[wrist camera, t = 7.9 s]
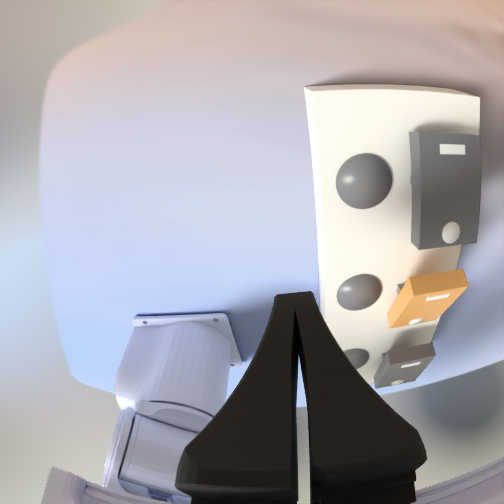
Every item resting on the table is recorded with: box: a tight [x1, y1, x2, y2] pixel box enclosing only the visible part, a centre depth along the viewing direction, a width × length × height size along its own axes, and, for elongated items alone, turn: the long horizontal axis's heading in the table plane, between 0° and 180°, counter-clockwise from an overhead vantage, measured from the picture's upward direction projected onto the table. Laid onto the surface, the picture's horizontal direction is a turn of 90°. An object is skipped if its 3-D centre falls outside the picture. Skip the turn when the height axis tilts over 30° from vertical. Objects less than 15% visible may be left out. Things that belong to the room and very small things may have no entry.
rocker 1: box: [409, 132, 481, 250], centre depth 13 cm, size 6×4×1 cm, turn 9°
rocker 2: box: [387, 269, 469, 329], centre depth 18 cm, size 6×4×1 cm, turn 9°
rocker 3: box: [374, 342, 436, 389], centre depth 22 cm, size 6×4×1 cm, turn 9°
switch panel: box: [304, 84, 480, 384], centre depth 22 cm, size 31×10×4 cm, turn 9°
